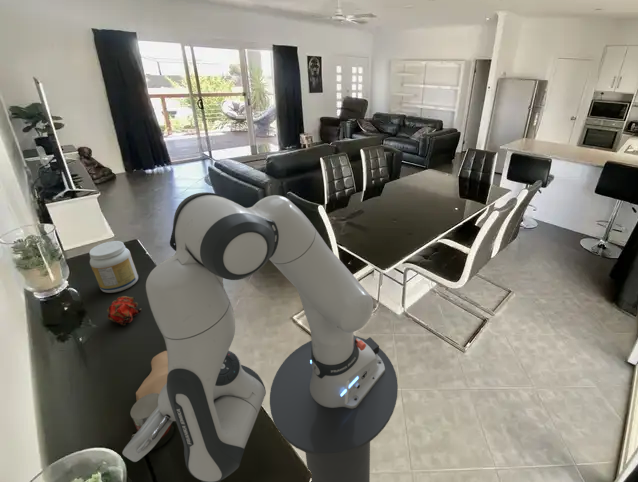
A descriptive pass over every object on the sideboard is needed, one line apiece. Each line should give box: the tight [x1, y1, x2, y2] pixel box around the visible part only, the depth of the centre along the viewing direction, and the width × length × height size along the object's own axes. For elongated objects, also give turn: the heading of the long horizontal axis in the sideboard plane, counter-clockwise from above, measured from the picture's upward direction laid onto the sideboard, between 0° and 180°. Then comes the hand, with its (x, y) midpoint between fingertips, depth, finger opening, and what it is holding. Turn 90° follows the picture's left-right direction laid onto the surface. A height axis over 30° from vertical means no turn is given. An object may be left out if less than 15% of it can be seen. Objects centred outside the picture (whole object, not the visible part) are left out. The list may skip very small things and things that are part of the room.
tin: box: [130, 393, 175, 451], centre depth 74 cm, size 6×6×11 cm
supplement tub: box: [89, 240, 139, 294], centre depth 124 cm, size 12×12×17 cm
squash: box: [135, 350, 168, 402], centre depth 86 cm, size 11×20×9 cm, turn 35°
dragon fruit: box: [106, 295, 142, 326], centre depth 109 cm, size 8×8×12 cm
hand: (156, 416), depth 74 cm, fingers open, 8 cm apart
